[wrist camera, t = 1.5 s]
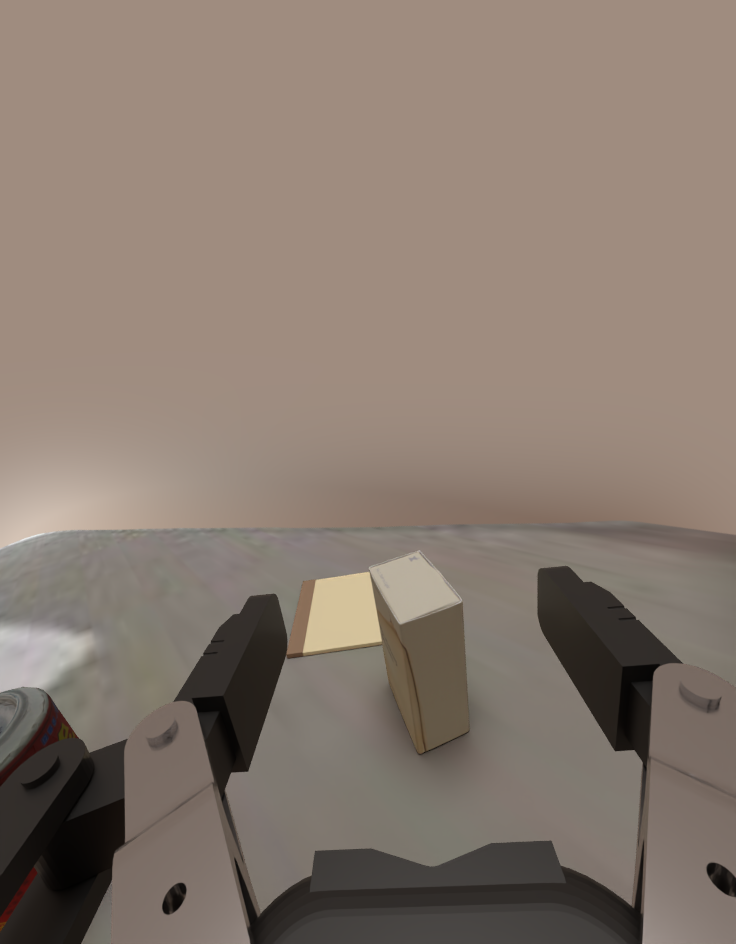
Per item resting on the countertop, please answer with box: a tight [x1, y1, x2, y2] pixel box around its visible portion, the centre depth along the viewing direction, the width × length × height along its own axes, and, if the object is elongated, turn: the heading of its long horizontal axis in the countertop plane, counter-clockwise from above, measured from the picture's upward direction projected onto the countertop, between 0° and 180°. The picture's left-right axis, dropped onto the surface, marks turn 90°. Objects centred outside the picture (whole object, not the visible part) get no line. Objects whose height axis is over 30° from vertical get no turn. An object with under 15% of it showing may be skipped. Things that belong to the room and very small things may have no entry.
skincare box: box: [369, 550, 470, 754], centre depth 25 cm, size 6×4×12 cm
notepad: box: [286, 572, 382, 658], centre depth 39 cm, size 14×11×1 cm
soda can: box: [0, 687, 78, 931], centre depth 20 cm, size 7×7×12 cm
